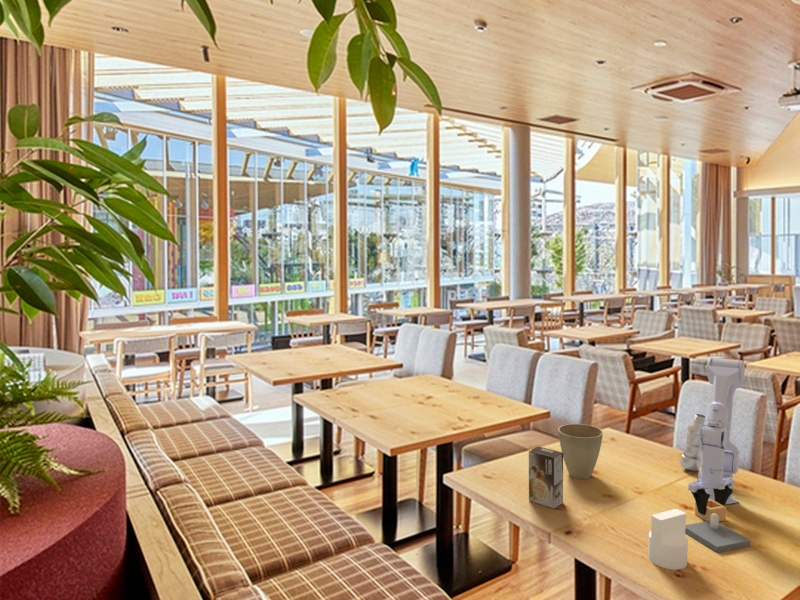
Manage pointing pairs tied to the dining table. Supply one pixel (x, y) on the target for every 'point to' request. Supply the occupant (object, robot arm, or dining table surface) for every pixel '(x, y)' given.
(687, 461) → the plastic bottle
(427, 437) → the dining table surface
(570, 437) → the plant pot
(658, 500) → the dining table surface
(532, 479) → the coffee box
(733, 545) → the hook board
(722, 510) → the orange loop
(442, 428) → the dining table surface
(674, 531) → the cylinder with rectangular tab
